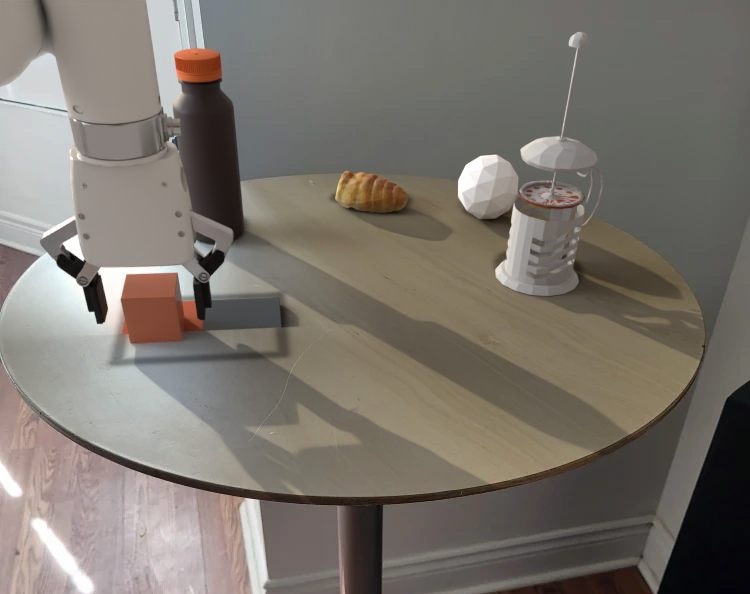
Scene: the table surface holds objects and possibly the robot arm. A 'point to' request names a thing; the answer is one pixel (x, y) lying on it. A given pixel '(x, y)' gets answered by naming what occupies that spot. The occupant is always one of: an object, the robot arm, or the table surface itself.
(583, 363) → the table surface
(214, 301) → the mat
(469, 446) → the table surface
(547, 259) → the french press
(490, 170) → the geometric ball
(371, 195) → the pastry
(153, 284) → the terracotta block
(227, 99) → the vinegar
